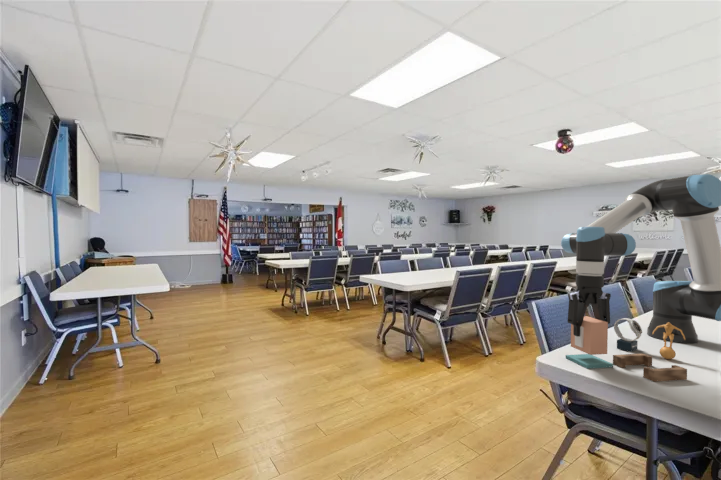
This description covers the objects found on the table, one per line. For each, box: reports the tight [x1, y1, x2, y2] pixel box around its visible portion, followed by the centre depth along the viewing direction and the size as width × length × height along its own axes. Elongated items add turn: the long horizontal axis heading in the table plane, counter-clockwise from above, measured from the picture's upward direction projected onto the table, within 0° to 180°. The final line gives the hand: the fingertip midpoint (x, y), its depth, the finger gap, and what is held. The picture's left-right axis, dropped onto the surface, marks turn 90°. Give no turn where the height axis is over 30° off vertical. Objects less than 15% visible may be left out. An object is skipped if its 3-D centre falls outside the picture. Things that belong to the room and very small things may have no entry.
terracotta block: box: [570, 315, 609, 356], centre depth 109 cm, size 6×8×10 cm
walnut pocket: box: [612, 353, 688, 383], centre depth 102 cm, size 11×13×3 cm
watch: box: [613, 317, 643, 353], centre depth 123 cm, size 6×8×11 cm
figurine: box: [652, 322, 685, 360], centre depth 114 cm, size 8×6×12 cm
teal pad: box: [565, 353, 614, 369], centre depth 110 cm, size 9×9×1 cm
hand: (588, 345), depth 109 cm, fingers closed on terracotta block, 6 cm apart
